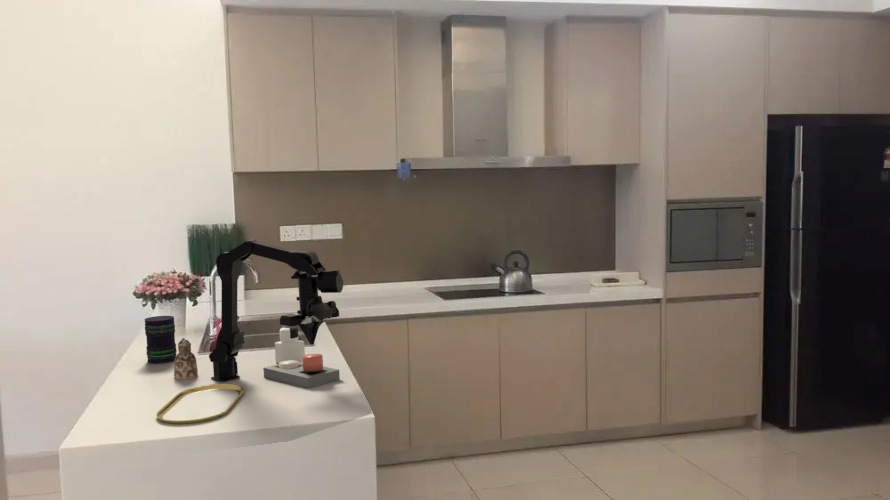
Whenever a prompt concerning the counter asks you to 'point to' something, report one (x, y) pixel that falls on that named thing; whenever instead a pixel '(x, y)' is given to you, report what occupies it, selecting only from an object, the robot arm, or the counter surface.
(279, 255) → the robot arm
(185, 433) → the counter surface
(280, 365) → the white button
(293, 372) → the grey holder tray
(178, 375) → the figurine
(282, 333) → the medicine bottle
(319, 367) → the red button
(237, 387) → the brass oval bangle
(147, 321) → the storage jar
